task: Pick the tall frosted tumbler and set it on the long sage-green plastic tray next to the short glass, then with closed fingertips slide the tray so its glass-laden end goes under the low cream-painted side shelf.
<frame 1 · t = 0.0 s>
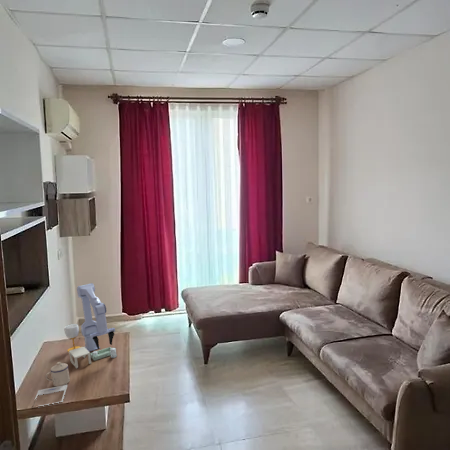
hand: (104, 346, 248), 10 cm above the table, fingers open, 7 cm apart
shelf: (80, 362, 253), on the table
teacup with lid: (58, 383, 229), on the table
cup: (74, 349, 274), on the table
tray: (102, 355, 260), on the table
tumbler: (113, 356, 257), on the table
photo frame: (50, 397, 215), on the table
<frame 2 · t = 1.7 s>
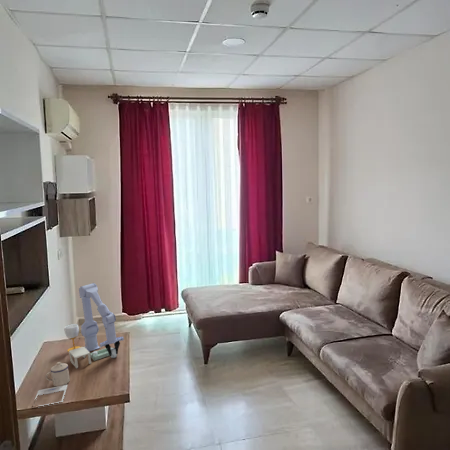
hand: (113, 354, 256), 1 cm above the table, fingers closed on tumbler, 3 cm apart
tumbler: (113, 356, 257), on the table, touching gripper
everything else where it was.
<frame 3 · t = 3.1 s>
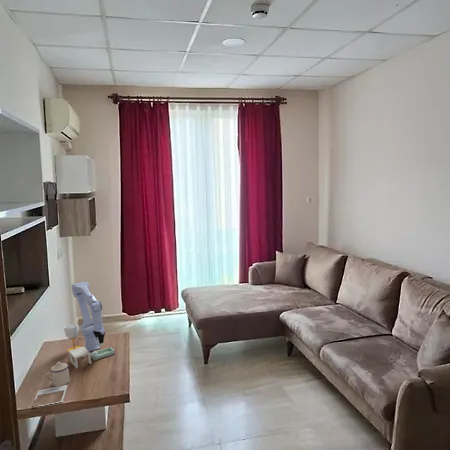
hand: (100, 342, 259), 9 cm above the table, fingers closed on tumbler, 3 cm apart
tumbler: (100, 344, 259), point 7 cm above the table, touching gripper
everything else where it was.
when the fingers open (3 cm above the table, at t = 4.6 s): tumbler drops 1 cm, resting on tray.
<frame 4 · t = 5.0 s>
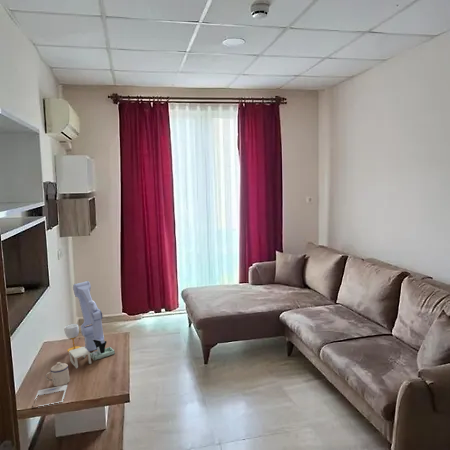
hand: (100, 350, 259), 3 cm above the table, fingers open, 7 cm apart
tray: (102, 355, 260), on the table, touching tumbler
tumbler: (101, 355, 260), resting on tray
everything else where it was.
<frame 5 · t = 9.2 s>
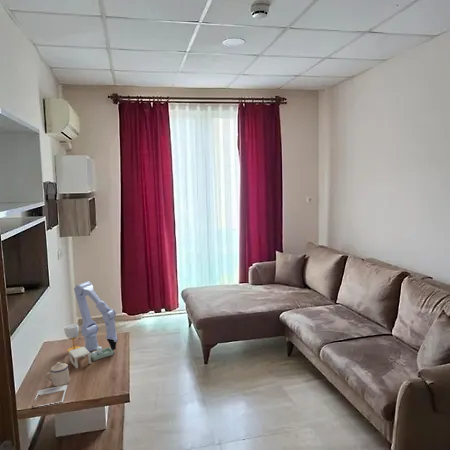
hand: (113, 349, 264), 1 cm above the table, fingers closed, pressing on tray
tray: (101, 355, 260), on the table, touching gripper, tumbler
everything else where it was.
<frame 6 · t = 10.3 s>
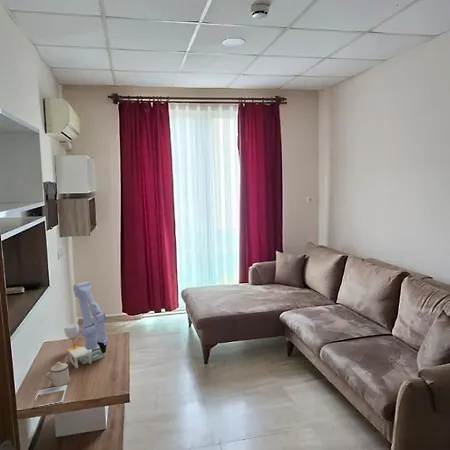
hand: (103, 352, 261), 1 cm above the table, fingers closed, pressing on tray
tray: (91, 358, 256), on the table, touching gripper, tumbler
tumbler: (90, 358, 256), point 1 cm above the table, touching tray
everything else where it was.
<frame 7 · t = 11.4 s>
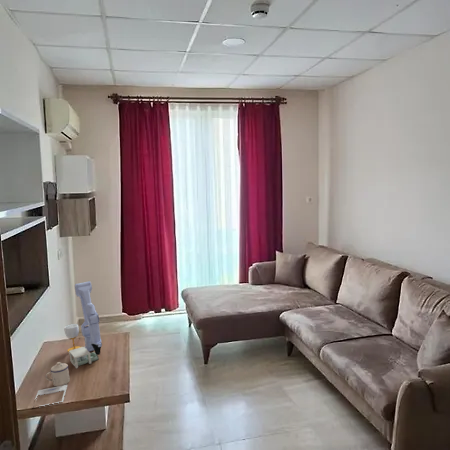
hand: (98, 354, 259), 1 cm above the table, fingers closed, pressing on tray
tray: (85, 360, 254), on the table, touching gripper, tumbler
tumbler: (84, 360, 254), point 1 cm above the table, touching tray
everything else where it was.
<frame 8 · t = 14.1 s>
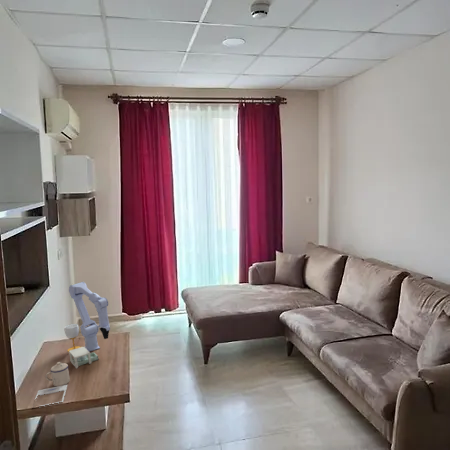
hand: (106, 338, 261), 10 cm above the table, fingers closed
tray: (85, 360, 254), on the table, touching tumbler
everything else where it was.
at the end: tray 0.5 cm from the target spot on the shelf, point 0.0 cm above the shelf's base; tumbler 1.0 cm from the tray (horizontally); tumbler tilted 2° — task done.
